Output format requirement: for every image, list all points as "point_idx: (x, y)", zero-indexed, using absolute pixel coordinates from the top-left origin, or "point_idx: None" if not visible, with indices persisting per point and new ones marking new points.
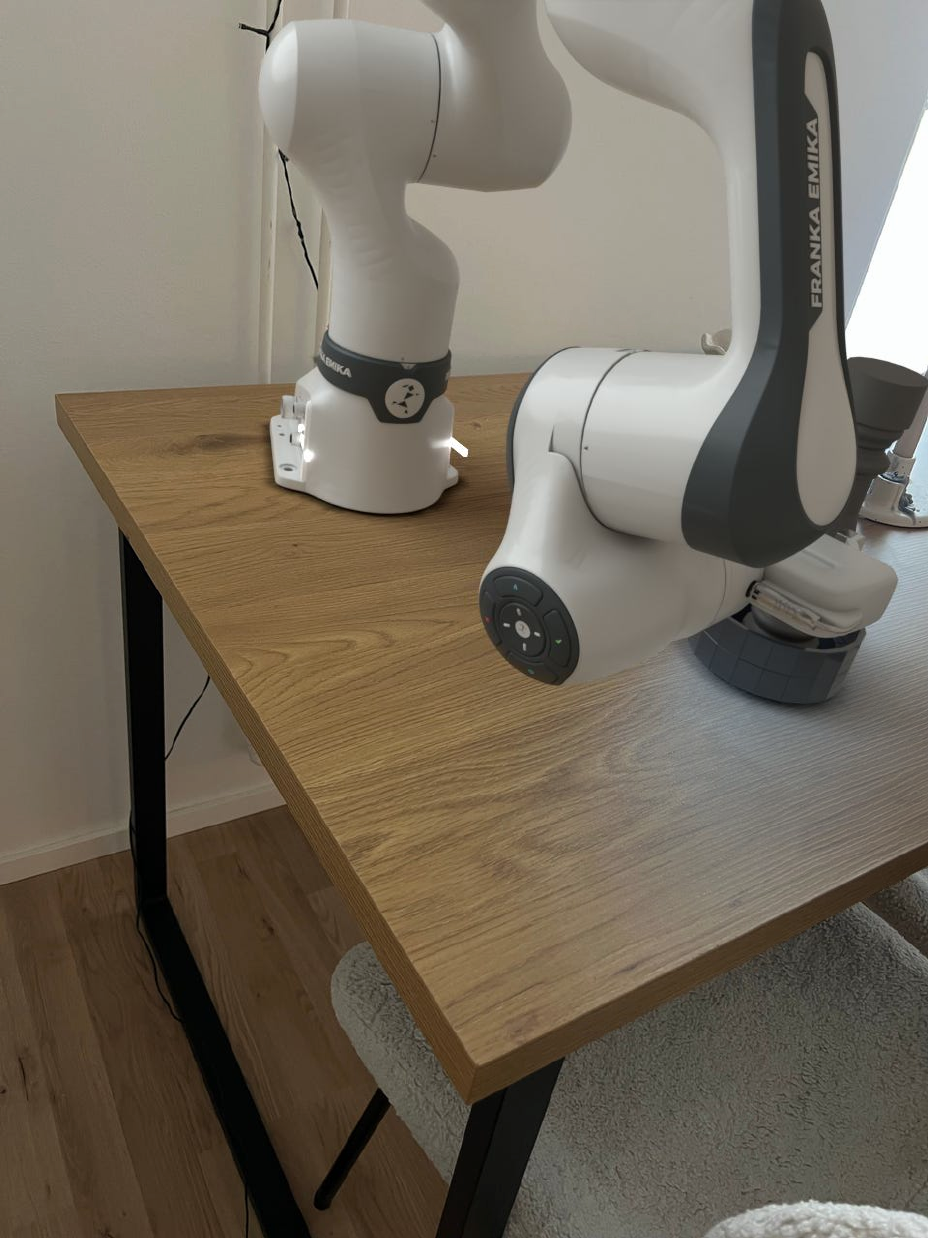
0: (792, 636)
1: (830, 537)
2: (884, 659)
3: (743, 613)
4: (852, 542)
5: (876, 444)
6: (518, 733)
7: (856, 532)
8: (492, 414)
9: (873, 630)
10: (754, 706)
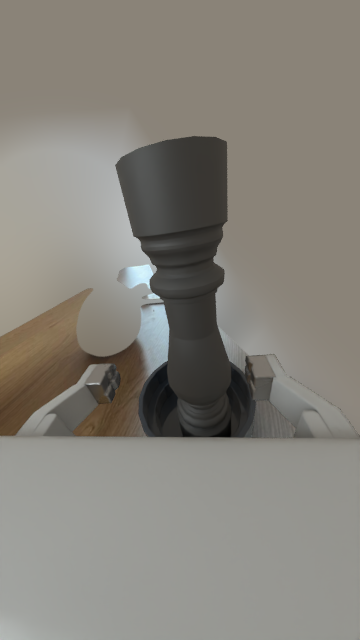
0: (221, 421)
1: (327, 455)
2: (232, 358)
3: (168, 393)
4: (292, 386)
5: (211, 251)
6: None
7: (262, 356)
8: (7, 351)
9: None
10: None
